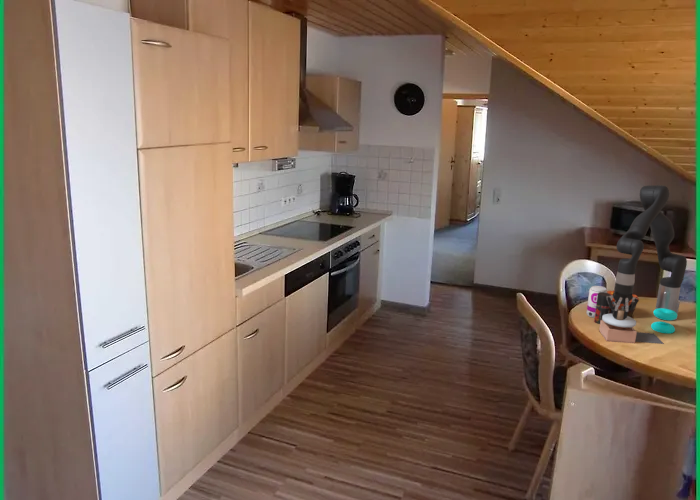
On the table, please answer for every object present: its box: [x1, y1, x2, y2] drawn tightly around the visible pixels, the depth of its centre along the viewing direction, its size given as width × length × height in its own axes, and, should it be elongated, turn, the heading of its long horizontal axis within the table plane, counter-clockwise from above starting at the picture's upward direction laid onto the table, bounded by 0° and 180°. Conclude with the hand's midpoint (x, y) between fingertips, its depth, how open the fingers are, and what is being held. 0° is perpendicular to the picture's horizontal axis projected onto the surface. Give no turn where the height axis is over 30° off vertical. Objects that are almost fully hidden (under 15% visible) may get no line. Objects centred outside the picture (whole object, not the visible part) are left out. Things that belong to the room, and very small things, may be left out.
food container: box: [607, 289, 640, 318], centre depth 281 cm, size 16×16×11 cm
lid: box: [602, 309, 637, 328], centre depth 250 cm, size 14×14×6 cm
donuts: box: [650, 308, 678, 334], centre depth 261 cm, size 10×10×10 cm
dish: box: [598, 320, 638, 344], centre depth 252 cm, size 12×12×6 cm
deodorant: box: [593, 292, 611, 325], centre depth 268 cm, size 6×6×15 cm
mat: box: [635, 331, 665, 345], centre depth 252 cm, size 12×12×1 cm
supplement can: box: [586, 285, 608, 319], centre depth 278 cm, size 8×8×15 cm
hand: (619, 318), depth 250 cm, fingers closed on lid, 3 cm apart
